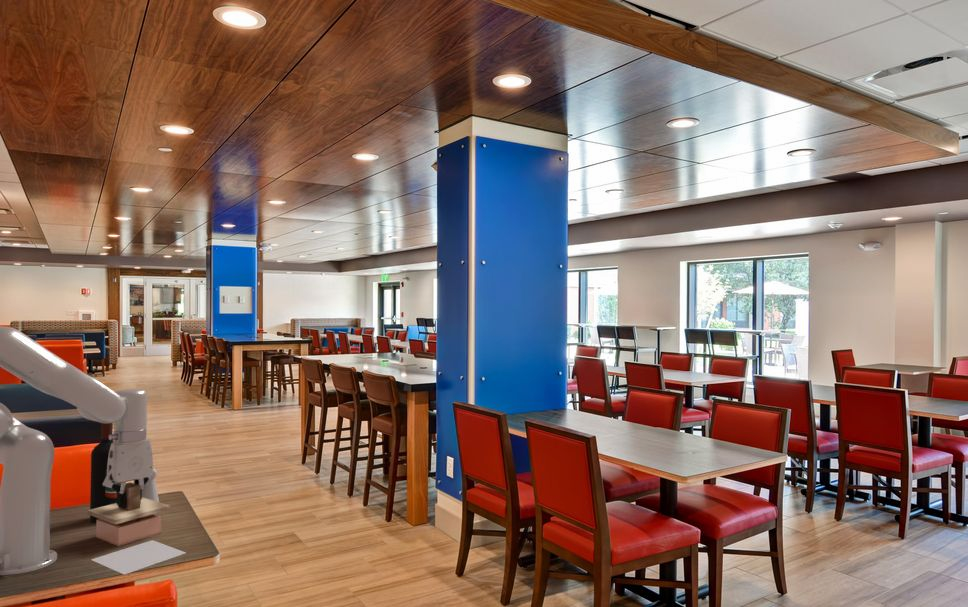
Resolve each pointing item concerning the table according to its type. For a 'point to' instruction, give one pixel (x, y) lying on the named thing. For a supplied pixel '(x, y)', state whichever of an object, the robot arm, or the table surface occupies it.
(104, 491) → the wine bottle
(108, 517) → the lid
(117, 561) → the mat
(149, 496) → the salt shaker
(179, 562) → the table surface
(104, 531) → the pink open box
